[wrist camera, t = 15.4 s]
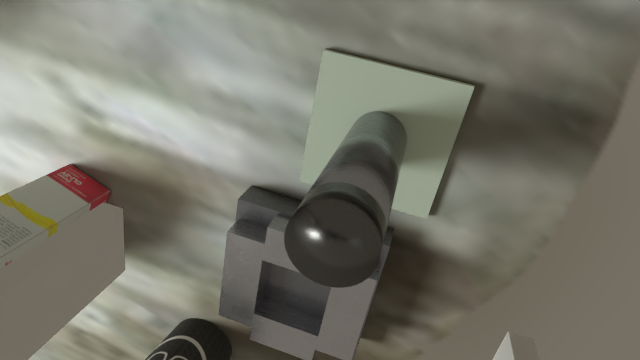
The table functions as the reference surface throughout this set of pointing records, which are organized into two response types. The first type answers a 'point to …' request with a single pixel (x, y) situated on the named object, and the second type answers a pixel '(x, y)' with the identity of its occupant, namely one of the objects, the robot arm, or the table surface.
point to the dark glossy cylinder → (349, 205)
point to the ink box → (45, 209)
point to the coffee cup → (193, 343)
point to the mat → (398, 100)
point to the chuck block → (288, 286)
